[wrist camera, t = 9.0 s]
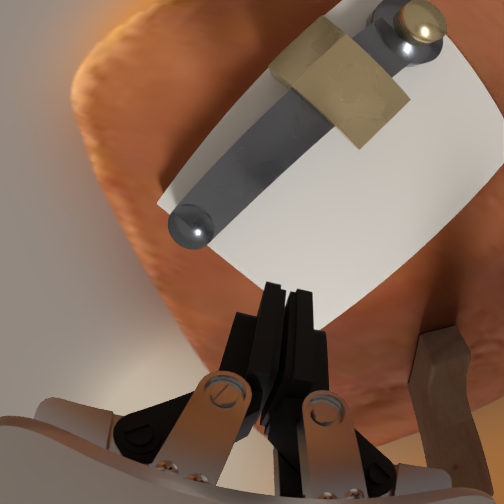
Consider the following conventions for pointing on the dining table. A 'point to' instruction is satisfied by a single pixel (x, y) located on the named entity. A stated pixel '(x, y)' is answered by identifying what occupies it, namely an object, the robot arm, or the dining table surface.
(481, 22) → the dining table surface
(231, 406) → the robot arm
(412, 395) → the wooden block
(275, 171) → the link
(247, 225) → the base plate
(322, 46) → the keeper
